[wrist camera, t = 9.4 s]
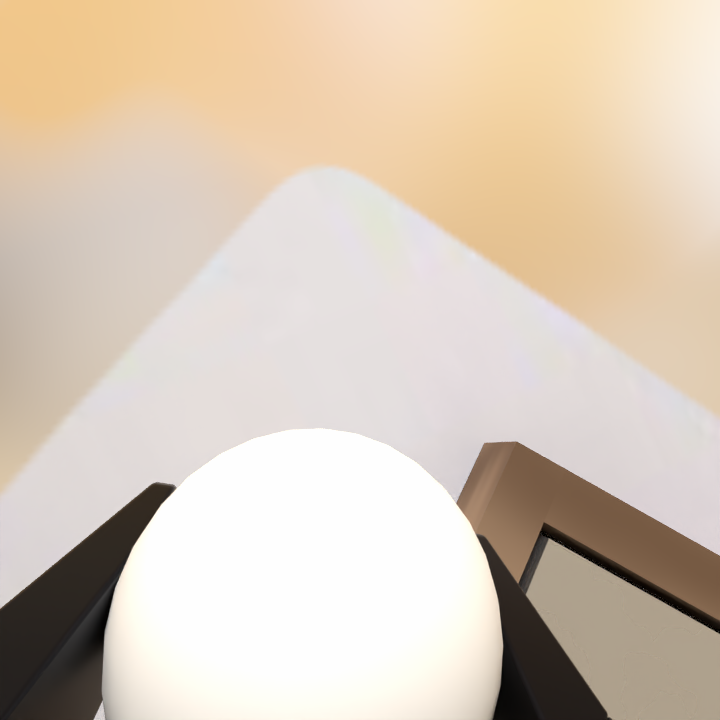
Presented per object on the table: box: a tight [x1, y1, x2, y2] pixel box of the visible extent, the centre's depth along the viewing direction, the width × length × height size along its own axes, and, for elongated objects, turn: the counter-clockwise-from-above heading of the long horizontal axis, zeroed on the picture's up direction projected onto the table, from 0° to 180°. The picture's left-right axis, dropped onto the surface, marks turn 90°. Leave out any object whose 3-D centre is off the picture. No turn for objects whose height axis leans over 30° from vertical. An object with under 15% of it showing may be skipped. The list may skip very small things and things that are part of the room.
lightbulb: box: [102, 429, 503, 720], centre depth 10 cm, size 6×6×11 cm
